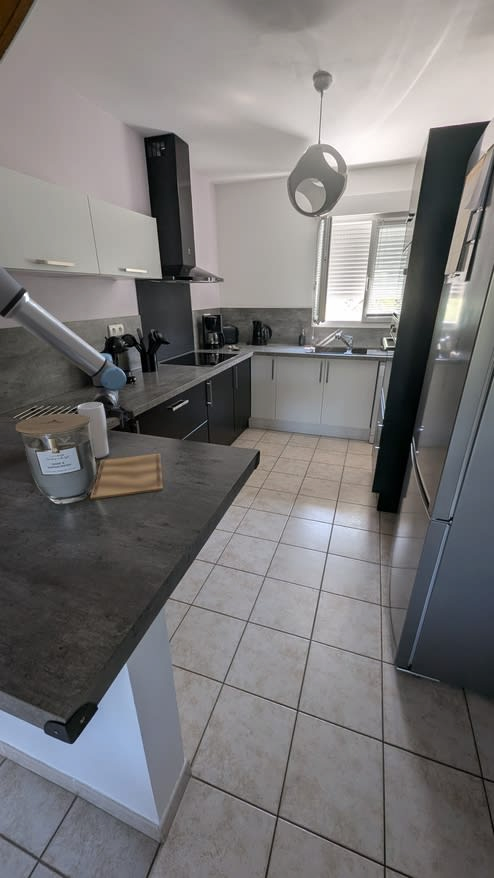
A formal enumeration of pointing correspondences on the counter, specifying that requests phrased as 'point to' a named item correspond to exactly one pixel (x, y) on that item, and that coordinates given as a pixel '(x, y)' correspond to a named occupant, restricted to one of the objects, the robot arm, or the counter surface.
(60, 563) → the counter surface
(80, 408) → the drinking glass
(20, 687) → the counter surface
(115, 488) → the wooden cutting board
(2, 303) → the robot arm
